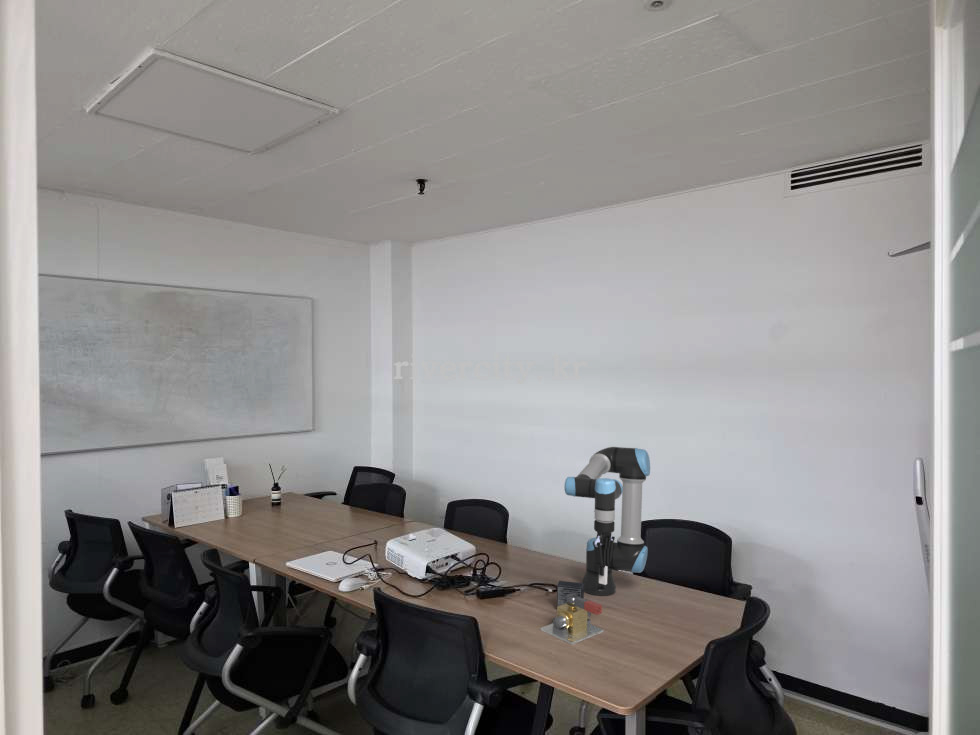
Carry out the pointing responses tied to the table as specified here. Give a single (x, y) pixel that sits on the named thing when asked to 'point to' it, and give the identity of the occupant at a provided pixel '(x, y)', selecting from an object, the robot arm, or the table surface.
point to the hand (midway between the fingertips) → (602, 583)
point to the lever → (584, 604)
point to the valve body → (571, 625)
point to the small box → (568, 591)
